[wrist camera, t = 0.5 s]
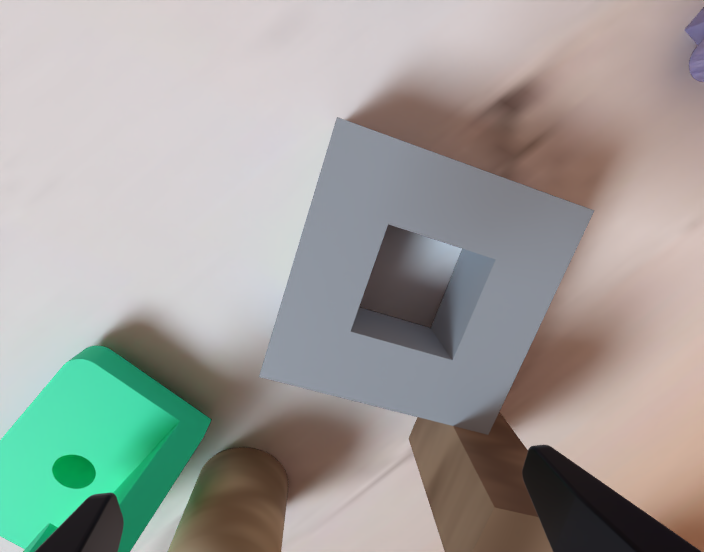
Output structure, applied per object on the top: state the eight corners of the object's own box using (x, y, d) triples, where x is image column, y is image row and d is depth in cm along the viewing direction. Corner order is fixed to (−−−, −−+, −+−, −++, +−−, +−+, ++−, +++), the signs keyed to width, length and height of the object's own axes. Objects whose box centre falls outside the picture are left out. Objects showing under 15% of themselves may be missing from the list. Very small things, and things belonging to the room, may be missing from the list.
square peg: (490, 399, 24) (584, 527, 15) (465, 452, 25) (541, 601, 16) (431, 383, 24) (494, 507, 15) (408, 438, 24) (455, 585, 16)
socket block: (544, 203, 21) (594, 210, 17) (461, 392, 24) (488, 434, 20) (334, 128, 19) (337, 117, 15) (270, 340, 22) (259, 376, 18)
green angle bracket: (104, 329, 21) (-84, 465, 12) (216, 408, 23) (137, 585, 13) (-15, 470, 23) (-268, 694, 13) (98, 533, 25) (-51, 773, 15)
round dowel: (299, 458, 24) (291, 548, 18) (275, 527, 26) (260, 631, 20) (209, 438, 23) (172, 525, 18) (189, 511, 25) (148, 614, 19)
